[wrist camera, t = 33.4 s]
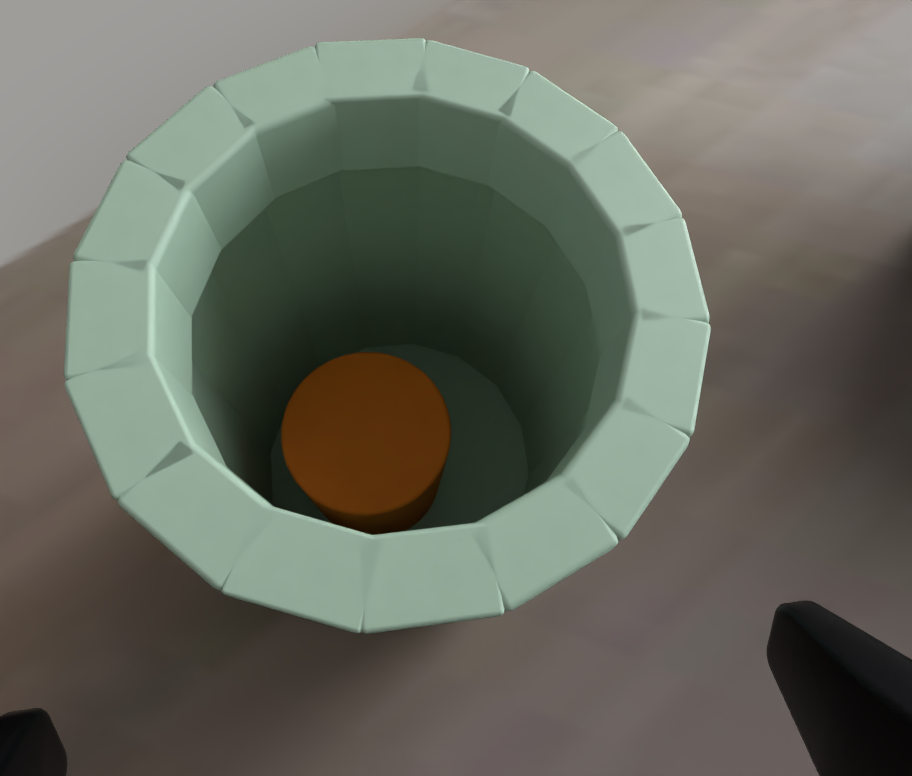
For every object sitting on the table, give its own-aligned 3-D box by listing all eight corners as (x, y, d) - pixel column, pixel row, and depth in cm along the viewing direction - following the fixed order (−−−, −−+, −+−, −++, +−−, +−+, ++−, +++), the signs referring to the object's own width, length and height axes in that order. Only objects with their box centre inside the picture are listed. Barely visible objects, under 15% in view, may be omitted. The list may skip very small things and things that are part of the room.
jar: (560, 595, 17) (780, 578, 7) (264, 634, 16) (45, 677, 6) (517, 328, 19) (638, 27, 9) (253, 351, 18) (76, 49, 8)
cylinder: (440, 537, 17) (453, 513, 12) (309, 540, 16) (275, 517, 12) (438, 412, 18) (449, 350, 13) (313, 413, 17) (284, 350, 13)
